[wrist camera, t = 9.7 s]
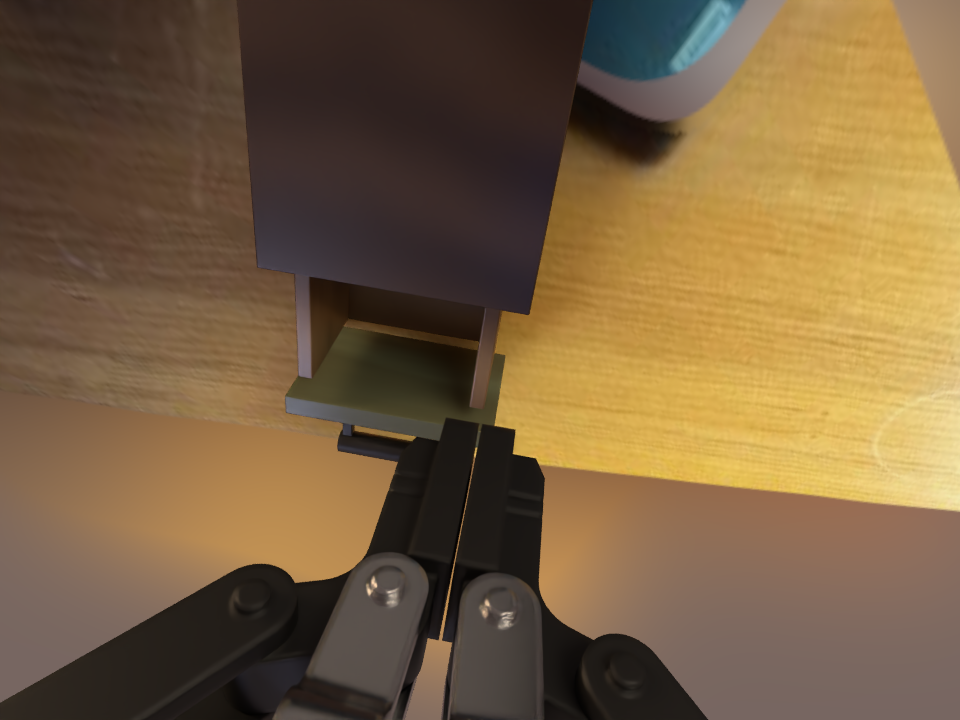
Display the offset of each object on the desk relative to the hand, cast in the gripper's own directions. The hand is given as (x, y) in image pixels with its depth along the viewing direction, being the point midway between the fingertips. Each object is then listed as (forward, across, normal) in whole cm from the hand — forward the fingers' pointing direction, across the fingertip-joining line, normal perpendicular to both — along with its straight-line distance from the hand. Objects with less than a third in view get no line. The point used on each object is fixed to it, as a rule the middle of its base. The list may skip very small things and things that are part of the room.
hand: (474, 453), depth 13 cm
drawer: (+23, +5, +10) cm, 26 cm away
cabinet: (+24, +5, -2) cm, 25 cm away
